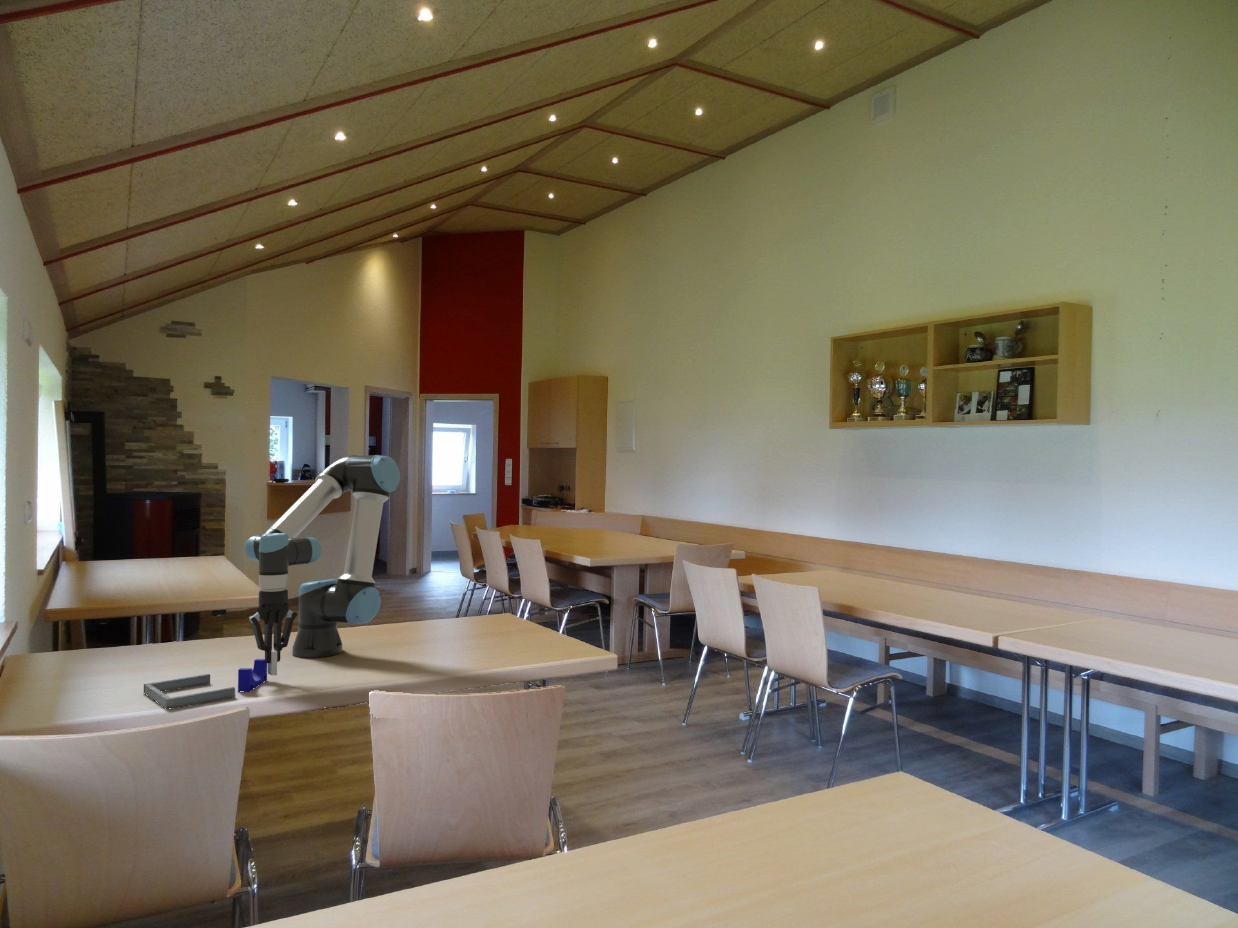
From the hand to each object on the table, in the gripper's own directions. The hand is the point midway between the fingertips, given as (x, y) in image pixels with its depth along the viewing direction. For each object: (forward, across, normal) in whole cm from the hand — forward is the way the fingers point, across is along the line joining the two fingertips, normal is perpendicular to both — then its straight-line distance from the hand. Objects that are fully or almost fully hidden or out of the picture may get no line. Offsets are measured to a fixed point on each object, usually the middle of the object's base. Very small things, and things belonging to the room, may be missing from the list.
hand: (272, 674), depth 227 cm
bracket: (+2, +21, 0) cm, 21 cm away
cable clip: (+2, +6, +1) cm, 7 cm away
